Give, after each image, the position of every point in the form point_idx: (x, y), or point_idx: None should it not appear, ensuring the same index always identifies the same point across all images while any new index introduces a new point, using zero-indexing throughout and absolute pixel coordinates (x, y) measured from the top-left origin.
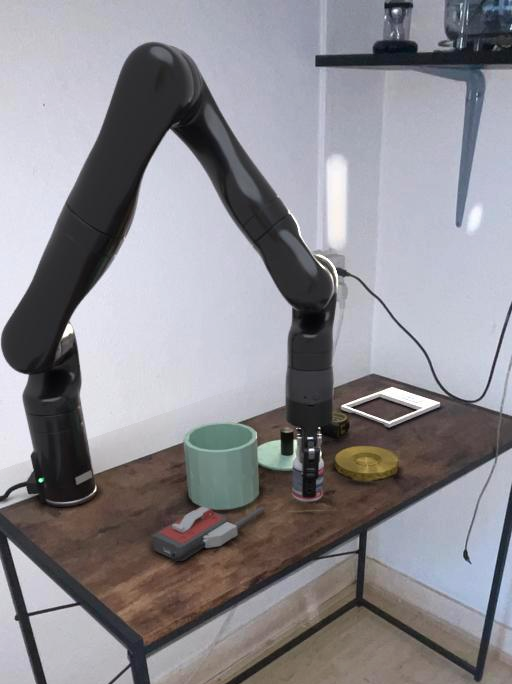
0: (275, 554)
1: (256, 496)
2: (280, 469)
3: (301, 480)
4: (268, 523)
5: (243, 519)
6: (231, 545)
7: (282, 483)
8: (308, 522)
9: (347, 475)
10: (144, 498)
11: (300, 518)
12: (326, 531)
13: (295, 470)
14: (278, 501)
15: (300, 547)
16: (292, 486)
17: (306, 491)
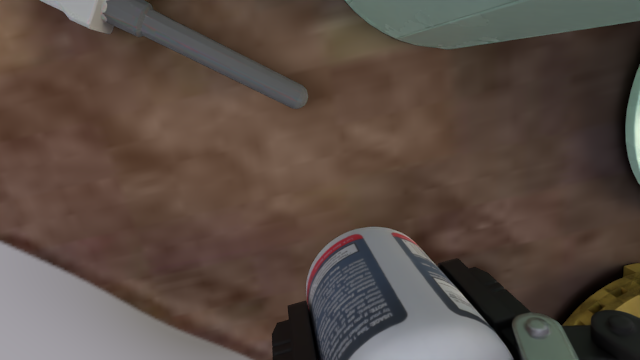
0: (52, 203)
1: (424, 44)
2: (633, 94)
3: (321, 340)
4: (254, 131)
5: (179, 42)
6: (51, 22)
7: (544, 117)
8: (288, 259)
9: (570, 321)
10: None
11: (309, 229)
12: (245, 319)
13: (354, 340)
14: (414, 131)
15: (126, 269)
16: (357, 251)
17: (274, 346)
